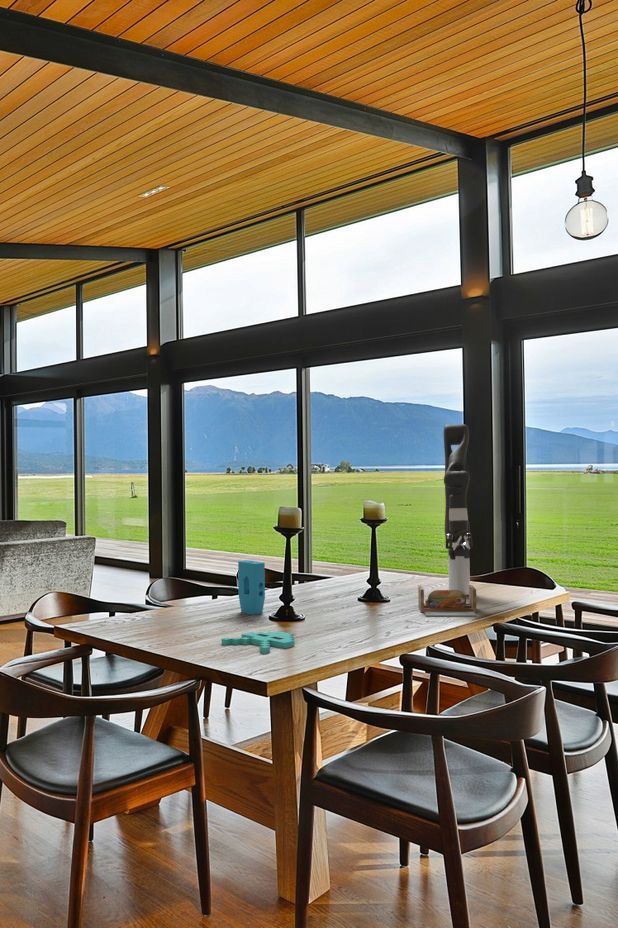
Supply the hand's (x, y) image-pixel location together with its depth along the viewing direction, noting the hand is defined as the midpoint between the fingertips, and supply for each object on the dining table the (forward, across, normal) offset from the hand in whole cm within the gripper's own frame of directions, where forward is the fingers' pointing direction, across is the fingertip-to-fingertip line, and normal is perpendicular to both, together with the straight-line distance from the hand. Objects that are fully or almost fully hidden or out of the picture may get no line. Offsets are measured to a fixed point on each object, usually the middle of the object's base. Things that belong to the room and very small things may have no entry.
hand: (459, 559), depth 319 cm
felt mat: (+20, +19, +10) cm, 29 cm away
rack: (+19, +12, +3) cm, 23 cm away
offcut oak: (+17, +14, -3) cm, 23 cm away
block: (+19, +73, -45) cm, 88 cm away
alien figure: (+22, +100, +1) cm, 102 cm away
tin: (+20, +13, +4) cm, 24 cm away
